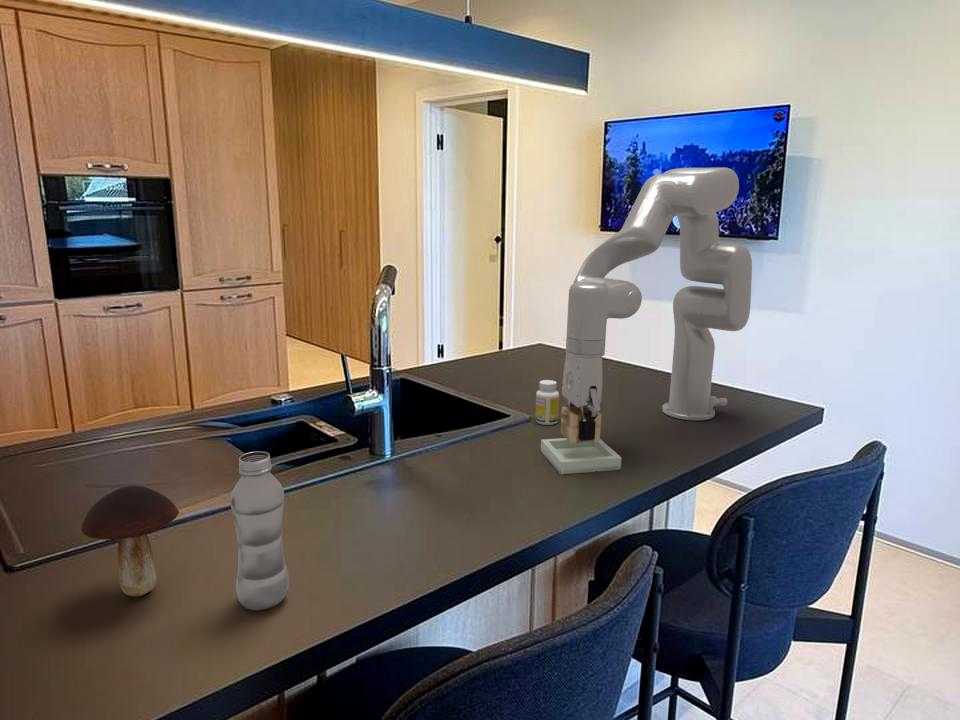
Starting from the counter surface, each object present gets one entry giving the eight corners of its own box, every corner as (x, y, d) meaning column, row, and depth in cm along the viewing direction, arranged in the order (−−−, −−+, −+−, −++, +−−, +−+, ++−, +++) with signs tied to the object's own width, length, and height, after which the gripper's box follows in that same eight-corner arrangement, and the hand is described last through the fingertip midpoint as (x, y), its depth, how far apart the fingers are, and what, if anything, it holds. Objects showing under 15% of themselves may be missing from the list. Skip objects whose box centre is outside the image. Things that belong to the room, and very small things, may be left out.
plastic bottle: (225, 610, 84) (213, 462, 80) (260, 582, 90) (251, 444, 86) (267, 622, 82) (257, 471, 77) (300, 593, 88) (293, 451, 83)
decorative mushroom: (137, 565, 94) (126, 466, 90) (203, 579, 91) (193, 477, 87) (71, 609, 84) (55, 500, 80) (142, 626, 81) (128, 513, 77)
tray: (596, 447, 142) (596, 436, 142) (620, 469, 130) (621, 457, 130) (540, 450, 139) (541, 439, 139) (560, 474, 128) (561, 462, 127)
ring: (555, 433, 136) (557, 406, 134) (592, 431, 137) (594, 405, 136) (566, 443, 130) (567, 416, 129) (604, 441, 132) (606, 414, 130)
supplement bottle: (557, 418, 160) (559, 379, 158) (558, 426, 155) (560, 385, 153) (535, 417, 161) (536, 378, 158) (534, 425, 155) (536, 384, 153)
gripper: (552, 338, 137) (548, 421, 141) (583, 356, 120) (578, 450, 124) (586, 337, 138) (582, 419, 142) (622, 355, 122) (615, 448, 126)
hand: (580, 433), depth 133 cm, fingers closed on ring, 6 cm apart
